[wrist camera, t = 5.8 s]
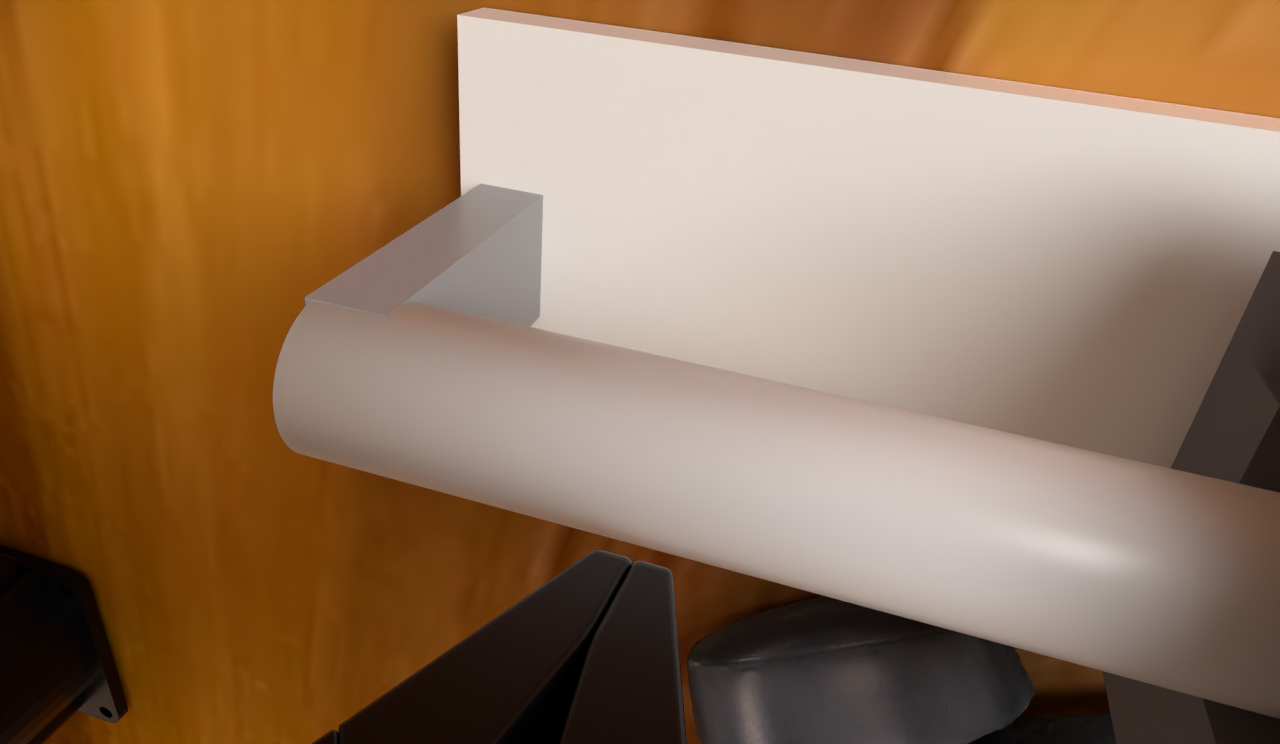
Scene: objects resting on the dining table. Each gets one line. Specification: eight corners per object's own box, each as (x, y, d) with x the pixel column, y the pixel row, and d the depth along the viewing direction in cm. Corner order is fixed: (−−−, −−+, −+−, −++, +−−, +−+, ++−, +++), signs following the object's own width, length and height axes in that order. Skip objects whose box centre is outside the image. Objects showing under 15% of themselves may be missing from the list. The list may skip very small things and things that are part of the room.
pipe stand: (1491, 640, 15) (1843, 1137, 9) (486, 397, 20) (274, 632, 13) (1842, 196, 11) (2866, 561, 5) (484, 7, 16) (178, 91, 9)
